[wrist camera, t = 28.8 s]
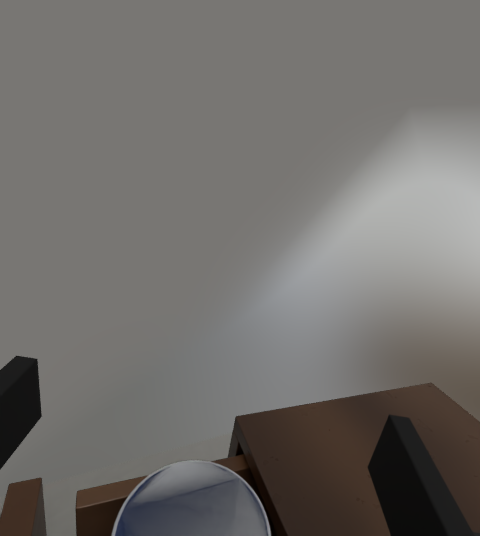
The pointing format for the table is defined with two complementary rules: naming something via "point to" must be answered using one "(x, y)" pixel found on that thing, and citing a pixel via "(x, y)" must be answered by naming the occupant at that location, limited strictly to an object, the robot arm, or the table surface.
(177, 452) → the table surface
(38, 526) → the drawer
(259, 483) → the cabinet
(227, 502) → the blue cylindrical container
